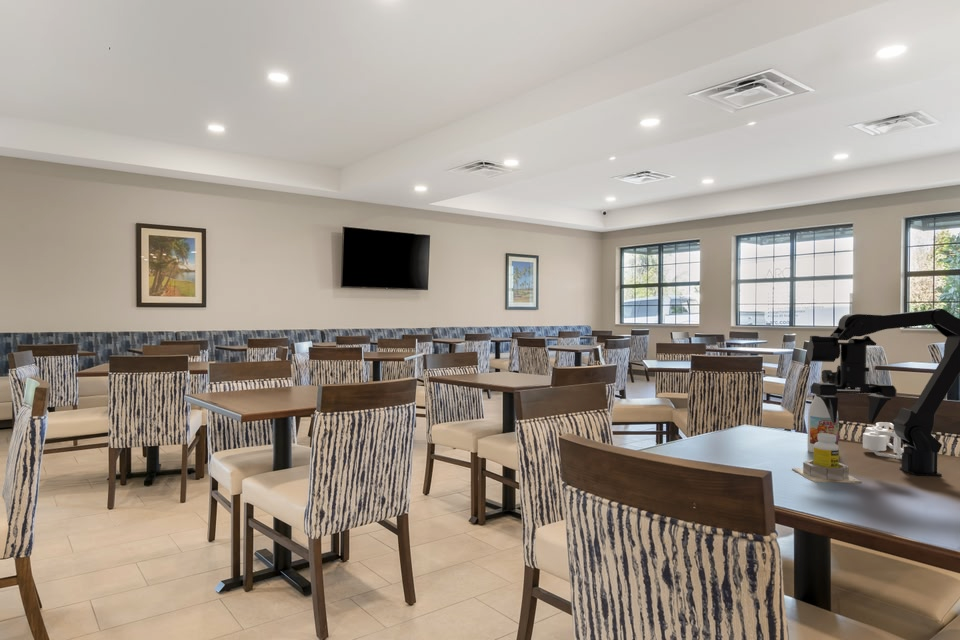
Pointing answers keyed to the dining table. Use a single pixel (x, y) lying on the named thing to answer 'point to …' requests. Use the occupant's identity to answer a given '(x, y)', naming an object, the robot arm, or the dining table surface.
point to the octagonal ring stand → (826, 473)
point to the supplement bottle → (826, 451)
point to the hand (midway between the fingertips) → (852, 423)
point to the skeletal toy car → (882, 440)
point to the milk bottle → (819, 422)
